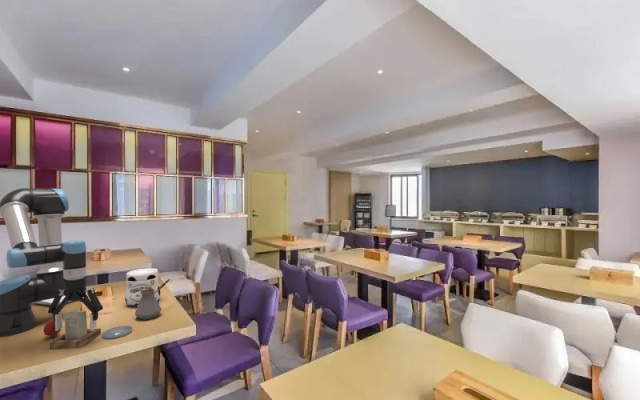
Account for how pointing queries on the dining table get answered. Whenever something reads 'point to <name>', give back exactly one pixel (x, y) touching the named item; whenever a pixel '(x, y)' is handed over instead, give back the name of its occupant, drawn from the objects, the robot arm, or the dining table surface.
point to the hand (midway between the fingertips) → (76, 328)
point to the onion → (50, 329)
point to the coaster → (117, 332)
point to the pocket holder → (78, 343)
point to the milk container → (140, 284)
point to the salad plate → (50, 301)
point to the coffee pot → (148, 304)
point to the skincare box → (75, 325)
